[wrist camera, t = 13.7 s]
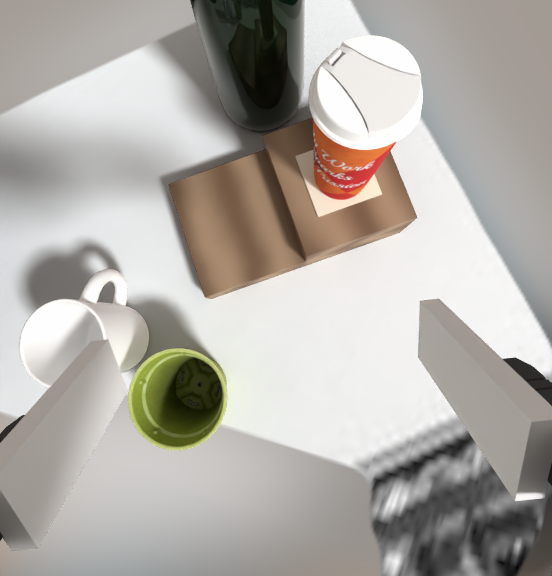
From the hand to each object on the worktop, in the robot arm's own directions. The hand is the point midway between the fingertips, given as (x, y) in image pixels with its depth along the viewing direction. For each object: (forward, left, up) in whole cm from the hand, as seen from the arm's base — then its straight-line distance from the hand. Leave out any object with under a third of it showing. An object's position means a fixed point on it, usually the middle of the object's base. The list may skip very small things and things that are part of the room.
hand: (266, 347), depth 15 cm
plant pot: (-9, -8, -27) cm, 29 cm away
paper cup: (+3, +17, -21) cm, 27 cm away
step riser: (-3, +14, -27) cm, 30 cm away
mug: (-20, -3, -27) cm, 33 cm away
